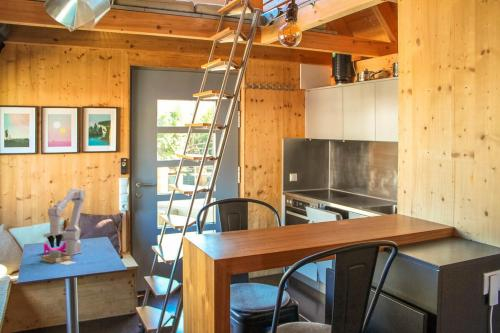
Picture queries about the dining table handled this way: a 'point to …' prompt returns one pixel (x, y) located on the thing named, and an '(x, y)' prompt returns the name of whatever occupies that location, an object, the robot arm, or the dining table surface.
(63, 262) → the mat
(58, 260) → the wooden tray
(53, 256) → the sheet
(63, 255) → the offcut upper
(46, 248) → the toy block
